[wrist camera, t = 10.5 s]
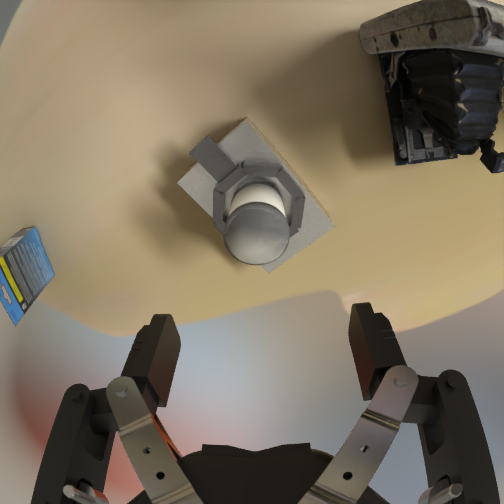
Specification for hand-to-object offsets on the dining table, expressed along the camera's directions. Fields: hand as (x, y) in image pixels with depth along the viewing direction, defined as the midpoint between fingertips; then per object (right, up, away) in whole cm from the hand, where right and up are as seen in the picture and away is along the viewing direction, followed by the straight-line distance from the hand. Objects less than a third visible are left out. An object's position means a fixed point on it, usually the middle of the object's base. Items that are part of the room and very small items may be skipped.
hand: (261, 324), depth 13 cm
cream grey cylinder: (0, +8, +17) cm, 19 cm away
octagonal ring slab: (0, +10, +20) cm, 23 cm away
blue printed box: (-34, +3, +25) cm, 42 cm away
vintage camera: (+17, +21, +13) cm, 30 cm away
